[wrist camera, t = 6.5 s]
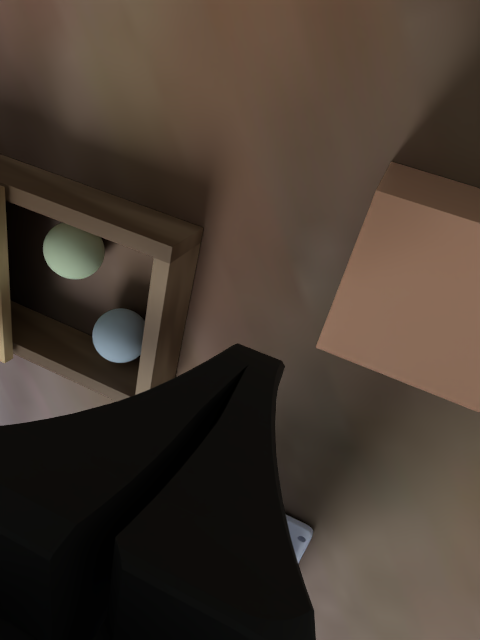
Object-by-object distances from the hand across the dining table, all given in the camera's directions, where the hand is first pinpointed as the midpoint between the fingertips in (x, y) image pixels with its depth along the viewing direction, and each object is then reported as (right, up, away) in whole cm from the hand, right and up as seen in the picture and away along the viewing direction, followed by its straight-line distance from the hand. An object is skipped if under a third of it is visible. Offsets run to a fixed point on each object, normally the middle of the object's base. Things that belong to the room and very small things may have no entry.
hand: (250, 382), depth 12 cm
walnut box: (-10, +5, +14) cm, 18 cm away
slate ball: (-6, +1, +14) cm, 16 cm away
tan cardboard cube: (+8, +5, +7) cm, 11 cm away
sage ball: (-8, +6, +13) cm, 17 cm away
